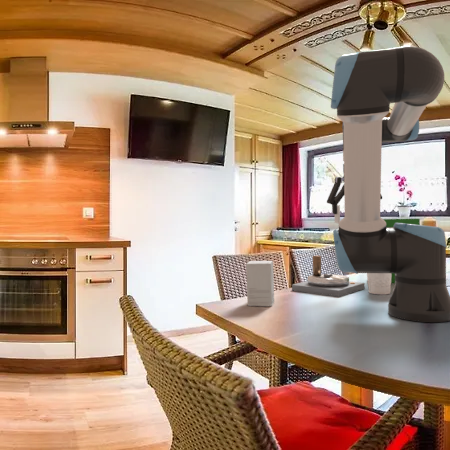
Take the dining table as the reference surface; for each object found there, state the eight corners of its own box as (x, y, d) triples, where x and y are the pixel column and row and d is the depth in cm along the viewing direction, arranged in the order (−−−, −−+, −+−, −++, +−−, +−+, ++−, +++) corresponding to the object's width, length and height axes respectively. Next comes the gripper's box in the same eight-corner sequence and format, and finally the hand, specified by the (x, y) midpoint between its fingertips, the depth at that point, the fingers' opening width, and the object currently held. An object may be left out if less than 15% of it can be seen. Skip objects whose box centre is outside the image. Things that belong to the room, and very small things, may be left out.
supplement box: (274, 301, 119) (274, 260, 119) (271, 307, 112) (270, 263, 112) (251, 300, 121) (250, 260, 121) (246, 306, 114) (245, 263, 114)
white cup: (388, 290, 132) (387, 261, 132) (395, 295, 124) (395, 263, 124) (364, 290, 133) (363, 261, 133) (370, 295, 125) (369, 264, 125)
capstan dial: (360, 284, 132) (359, 257, 132) (327, 288, 126) (326, 260, 126) (329, 278, 146) (329, 254, 146) (299, 281, 140) (298, 256, 140)
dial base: (339, 296, 124) (338, 289, 124) (292, 290, 136) (291, 283, 136) (364, 288, 136) (364, 282, 136) (319, 283, 149) (319, 277, 149)
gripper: (380, 159, 143) (380, 216, 147) (316, 164, 139) (318, 222, 143) (392, 159, 136) (392, 219, 139) (325, 164, 132) (327, 226, 135)
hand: (354, 221), depth 141 cm, fingers open, 13 cm apart
